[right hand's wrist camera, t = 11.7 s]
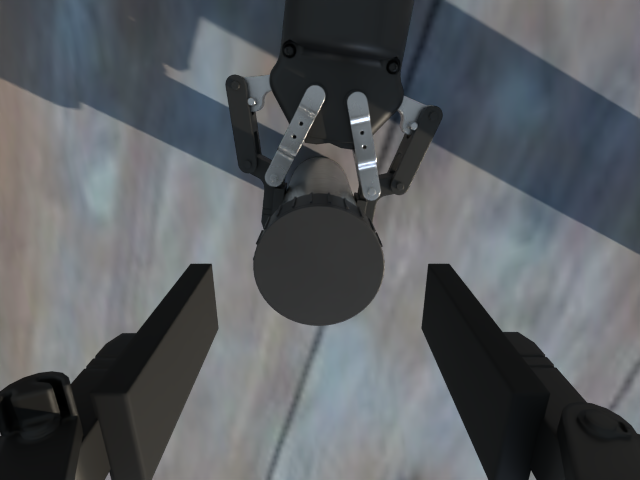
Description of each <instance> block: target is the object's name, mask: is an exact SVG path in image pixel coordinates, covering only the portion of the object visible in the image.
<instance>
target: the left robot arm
mask: <svg viewBox="0 0 640 480" xmlns="http://www.w3.org/2000/svg"><path fill="white" fill-rule="evenodd" d="M413 4H414V0H286V1H285V11H284V21H283V31H282V42H281V51H280V55H279V58H278V61H277V63H276V64H275V66H274V67H273V69H272V71H271V73H270V75H263V76H253V77H242V76H239V75H231V76H229V77H228V78H227V80H226V91H227V97H228V104H229V110H230V116H231V122H232V128H233V134H234V140H235V147H236V153H237V159H238V165H239V168H240V169H241V170H242V171H243V172H245V173H250V174H252V175H254V176H256V177H258V178H260V179H261V180H262V182H263V183H264V187H265V190H264V200H263V210H262V221H261V222H262V225H263V229H264V227H265V224H266V222H267V220H268V217H269V216H270V217H271V216H272V215H273V214H274V213H275V211H276V210H278V209H279V206H280V205H282V202H283V200H284V197H285V194H286V190H287V183H285V176H286V174H287V172H288V170H289V168H290V166H291V164H292V162H293V160H294V158H295V156H296V154H297V153H298V151H299V149H300V147H301V145H302V143H303V141H305V143H311V144H323V143H331V144H333V145H336V146H338V147H340V148H346V149H352V151H353V156H354V161H355V165H356V171H357V176H358V181H359V188H358V193H354V199H355V202H356V205H357V207H358V206H359V207H360V208H361V211H362V212H363V213H364V214H365V215H366V216H367V218H368V219H369V218H370V219H371V221H372V222H373V217H374V212H375V207H376V203H377V201H378V200H379V199H380V198H381V197H383V196H386V195H391V194H396V195H402V194H404V193H406V192H407V190H408V189H409V186H410V184H411V182H412V180H413V178H414V176H415V174H416V172H417V170H418V168H419V166H420V164H421V161H422V159H423V157H424V155H425V153H426V151H427V149H428V147H429V145H430V143H431V141H432V139H433V136H434V134H435V132H436V130H437V128H438V126H439V124H440V122H441V120H442V116H443V114H442V111H441V109H440V108H439V107H437V106H433V105H424V104H422V103H420V102H418V101H415V100H413V99H411V98H408V97H406V96H404V91H403V87H402V84H401V77H400V72H401V66H402V60H403V55H404V50H405V45H406V40H407V35H408V30H409V25H410V19H411V14H412V9H413ZM270 91H272V92H273V94H274V96H275V98H276V100H277V101H278V103H279V105H280V107H281V109H282V111H283V113H284V115H285V116H286V118H287V120H288V122H289V124H290V125H289V127H288V129H287V131H286V133H285V135H284V137H283V139H282V141H281V143H280V145H279V147H278V150H277V152H276V154H275V156H274V158H273V160H270V159H268V158H267V157H265V156H263V155H261V147H260V140H259V133H258V126H257V119H256V112H255V111H259V110H261V109H262V108H263V106H264V99H265V96H266V94H267V93H268V92H270ZM396 111H398V112H399V113H400V115H401V121H400V129H401V131H402V132H403V133H405V135H404V137H403V139H402V142H401V144H400V146H399V148H398V150H397V153H396V155H395V157H394V159H393V161H392V164H391V166H390V168H389V170H388V172H387V173H386V174H381V175H378V171H377V160H376V153H375V147H374V141H373V134H374V133H375V132H376V131H377V130H378V129H379V128H380V127H381V126H382V125H383V124H384V123H385V122H386V121H387V120H388V119H389V118H390V117H391V116H392V115H393V114H394V113H395V112H396Z"/></svg>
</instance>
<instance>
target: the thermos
mask: <svg viewBox="0 0 640 480" xmlns="http://www.w3.org/2000/svg"><path fill="white" fill-rule="evenodd" d="M312 192H313V194H317V193H321V194H328V193H330V195H335V196H338V197H341V198H344V197H345V198H346V199H347V200H348V201H350V202H351V203H353V204H354V205H356V202H355V199H354V196H353V194H352V191H351V188H350V185H349V182H348V179H347V177H346V174H345V172H344V170H343V169H342V168H341V166H340V165H339V164H337V163H336V162H335V161H333V160H331V159H328V158H324V157H314V158H310V159H307V160H305V161H304V162H302V163H301V164H300V165H299V166H298V167H297V168H296V169H295V171H294V173H293V175H292V177H291V180H290V183H289V186H288V189H287V191H286V194H285V197H284V200H283V202H282V205H284V204H285V203H287V202H288V201H290V200H292V199H294V197H300V196H303V195H308V194H310V193H312ZM356 206H357V205H356Z"/></svg>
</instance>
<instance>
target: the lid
mask: <svg viewBox="0 0 640 480" xmlns="http://www.w3.org/2000/svg"><path fill="white" fill-rule="evenodd" d="M375 231H376V230H375V228H374V226H373V223H372V221H371V219H370V218H369V219H368V218H367V216H366V215H365V214H364V213H363V212H362V211H361V208H360V207H359V206H358V207H357V206H356V205H354V204H353V203H351V202H350V201H348V200H347V199H346V198H345V197H344V198H341V197H338V196H335V195H330V193H328V194H321V193H317V194H313V192H312V193H310V194H308V195H303V196H300V197H294V199H292V200H290V201H288V202H287V203H285V204H284V205H280V206H279V209H278V210H276V211H275V213H274V214H273V215H272V216H271V217H270V216H269V217H268V220H267V222H266V224H265V227H264V231H263V230H262V231H261V233H260V236H259V238H258V240H257V242H256V244H257V247H256V251H255V255H254V258H253V261H254V262H253V269H254V277H255V280H256V284H257V286H258V289H259V291H260V293H261V294H262V296H263V298H264V299H265V300H266V301H267V303H268V304H269V305H270V306H271V307H272V308H273V309H274V310H275V311H277V312H278V313H279V314H281V315H282V316H284V317H286V318H288V319H290V320H292V321H295V322H298V323H301V324H306V325H314V326H323V325H332V324H336V323H340V322H343V321H345V320H348V319H350V318H352V317H354V316H355V315H357V314H358V313H360V312H361V311H362V310H364V309H365V308H366V307H367V306H368V305H369V304H370V303H371V301H372V300H373V299H374V297H375V296H376V294H377V292H378V291H379V288H380V286H381V283H382V280H383V276H384V263H385V261H384V256H383V251H382V248H381V247H383V246H382V243H381V241H380V239H379V236H378V234H377V232H376V233H375Z"/></svg>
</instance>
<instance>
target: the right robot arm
mask: <svg viewBox="0 0 640 480" xmlns="http://www.w3.org/2000/svg"><path fill="white" fill-rule="evenodd" d="M217 331H218V319H217V310H216V300H215V291H214V281H213V272H212V264H190V265H189V267H188V268H187V269H186V271H185V272H184V273H183V274H182V276H181V277H180V278H179V280H178V281H177V282H176V283H175V285H174V286H173V287H172V288H171V290H170V291H169V292H168V294H167V295H166V296H165V297H164V299H163V300H162V301H161V303H160V304H159V305H158V306H157V308H156V309H155V310H154V311H153V313H152V314H151V315H150V317H149V318H148V319H147V320H146V322H145V323H144V324H143V326H142V327H141V328H140V329H139V331H138V332H137V333H122V334H120V335H119V336H117V337H116V338H114V339H113V340H111V341H110V342H108V343H107V344H106V345H105V346H104V347H103V348H102V349H101V350H100V351H99V353H98V354H97V355H96V356H95V359H92V361H91V362H90V363H89V364H88V365H87V366H86V369H84V370H83V371H82V372H81V373H80V374H79V375H78V377H77V378H76V379H75V380H74V381H73V382H72V383H71V384H70V381H69V377H67V376H66V375H65V374H63V373H60V372H53V371H51V372H43V373H37V374H34V375H31V376H27V377H24V378H22V379H20V380H18V381H16V382H14V383H12V384H10V385H8V386H7V387H6V388H4V389H3V390H1V391H0V433H1V436H0V480H105V478H106V476H107V475H108V473H109V472H110V476H111V480H152V478H153V475H154V473H155V471H156V469H157V466H158V464H159V462H160V460H161V457H162V455H163V453H164V451H165V448H166V446H167V444H168V441H169V439H170V437H171V435H172V432H173V430H174V428H175V426H176V423H177V421H178V419H179V417H180V414H181V412H182V410H183V408H184V405H185V403H186V401H187V398H188V396H189V394H190V392H191V389H192V387H193V385H194V383H195V380H196V378H197V376H198V374H199V371H200V369H201V367H202V365H203V362H204V360H205V358H206V356H207V353H208V351H209V349H210V346H211V344H212V342H213V340H214V337H215V335H216V333H217ZM422 331H423V333H424V335H425V337H426V340H427V342H428V344H429V346H430V349H431V351H432V353H433V356H434V358H435V360H436V362H437V365H438V367H439V369H440V371H441V374H442V376H443V378H444V380H445V383H446V385H447V387H448V389H449V392H450V394H451V396H452V398H453V401H454V403H455V405H456V408H457V410H458V412H459V414H460V417H461V419H462V421H463V423H464V426H465V428H466V430H467V432H468V435H469V437H470V439H471V441H472V444H473V446H474V448H475V451H476V453H477V455H478V457H479V460H480V462H481V464H482V466H483V469H484V471H485V473H486V475H487V478H488V480H529V476H530V472H531V471H532V473H533V474H534V476H535V478H536V480H640V434H637V433H636V431H635V430H634V428H633V427H632V426H631V425H630V424H629V423H628V422H627V421H625V420H624V419H623V418H622V417H621V416H619V415H617V414H616V413H614V412H612V411H610V410H608V409H607V408H604V407H601V406H598V405H595V404H592V403H587V402H586V401H585V400H584V399H583V398H582V396H581V395H580V394H579V393H578V392H577V391H576V390H575V388H574V387H573V386H572V385H571V384H570V383H569V382H568V380H567V379H566V378H565V377H564V376H563V375H562V374H561V373H560V371H559V370H558V369H557V368H554V365H553V363H552V362H551V361H550V360H549V359H548V358H547V357H545V354H544V353H543V352H542V351H541V350H540V349H539V347H538V346H537V345H536V344H535V343H534V342H533V341H531V340H529V339H528V338H526V337H525V336H523V335H522V334H520V333H519V332H502V331H501V329H500V328H499V327H498V326H497V324H496V323H495V322H494V320H493V319H492V318H491V317H490V315H489V314H488V313H487V311H486V310H485V309H484V308H483V306H482V305H481V304H480V303H479V301H478V300H477V299H476V297H475V296H474V295H473V294H472V292H471V291H470V290H469V288H468V287H467V286H466V285H465V283H464V282H463V281H462V280H461V278H460V277H459V276H458V274H457V273H456V272H455V271H454V269H453V268H452V267H451V265H450V264H428V272H427V281H426V291H425V300H424V310H423V319H422Z"/></svg>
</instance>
